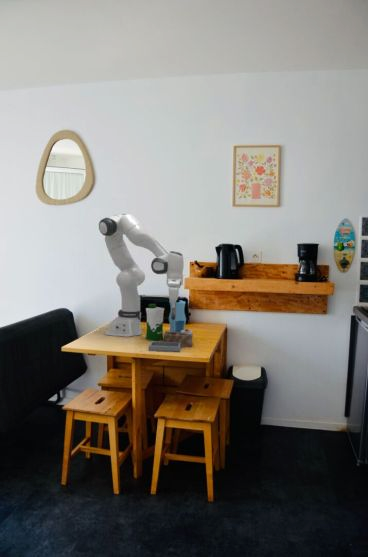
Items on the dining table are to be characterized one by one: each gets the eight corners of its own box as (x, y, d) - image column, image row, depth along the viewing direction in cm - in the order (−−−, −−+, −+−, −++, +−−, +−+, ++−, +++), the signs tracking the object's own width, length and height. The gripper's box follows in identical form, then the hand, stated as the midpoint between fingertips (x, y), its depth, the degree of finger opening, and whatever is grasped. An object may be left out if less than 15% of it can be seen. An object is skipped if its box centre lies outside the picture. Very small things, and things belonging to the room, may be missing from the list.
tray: (148, 350, 212) (148, 346, 212) (151, 345, 222) (151, 341, 222) (179, 352, 211) (179, 347, 211) (180, 346, 221) (180, 342, 221)
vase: (179, 332, 255) (180, 300, 253) (185, 335, 248) (186, 302, 246) (168, 333, 252) (169, 300, 250) (173, 336, 245) (174, 302, 243)
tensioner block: (163, 346, 222) (163, 330, 221) (164, 341, 231) (165, 326, 230) (191, 347, 221) (192, 331, 221) (192, 342, 230) (192, 327, 229)
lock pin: (169, 319, 223) (170, 297, 222) (170, 318, 227) (171, 296, 226) (176, 320, 223) (177, 297, 222) (176, 318, 227) (177, 296, 226)
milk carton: (152, 336, 243) (153, 302, 241) (165, 338, 238) (166, 304, 236) (143, 339, 236) (144, 304, 234) (156, 341, 231) (157, 306, 229)
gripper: (170, 279, 233) (169, 303, 235) (167, 283, 213) (166, 309, 214) (181, 279, 233) (180, 303, 235) (179, 284, 213) (178, 310, 214)
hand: (173, 306), depth 224 cm, fingers closed on lock pin, 3 cm apart
